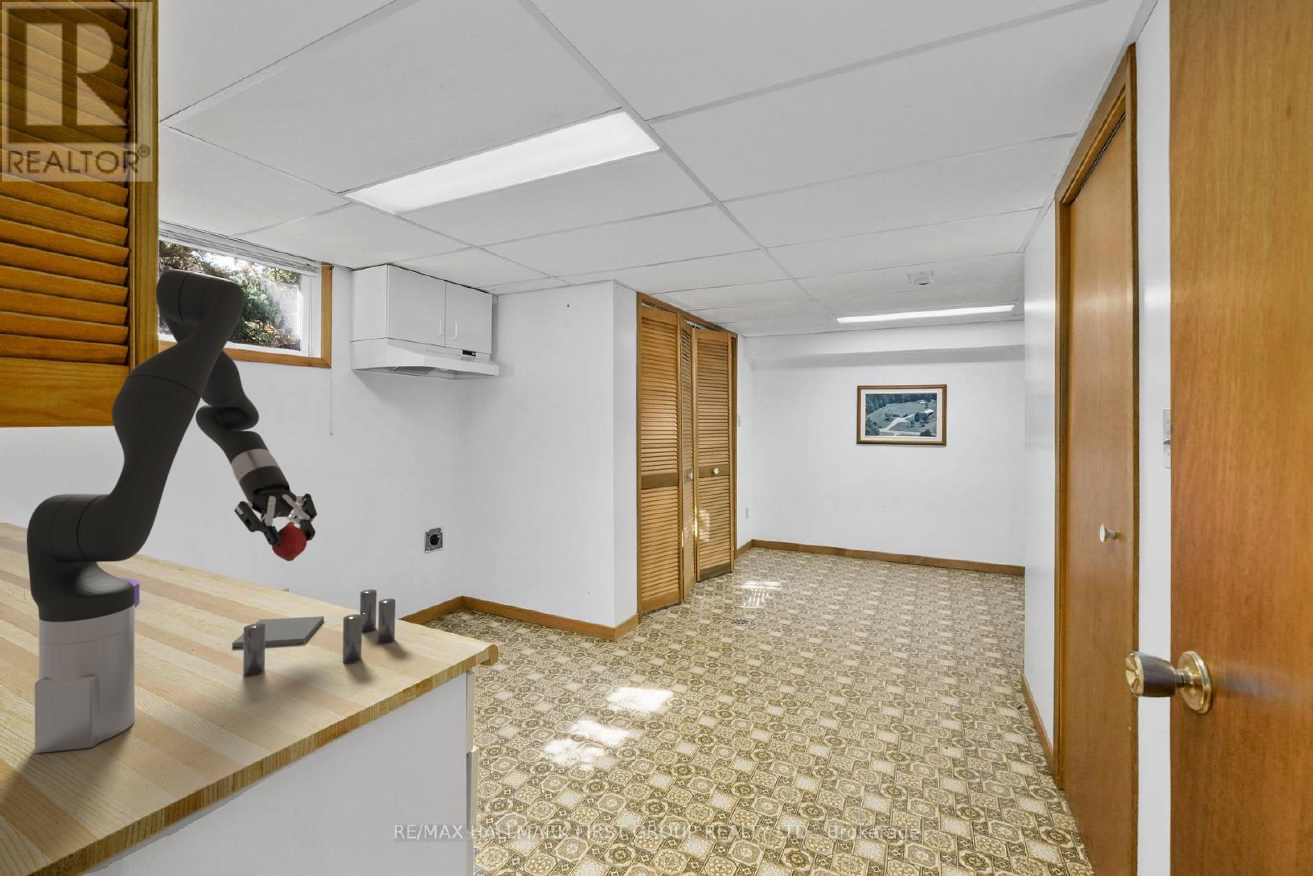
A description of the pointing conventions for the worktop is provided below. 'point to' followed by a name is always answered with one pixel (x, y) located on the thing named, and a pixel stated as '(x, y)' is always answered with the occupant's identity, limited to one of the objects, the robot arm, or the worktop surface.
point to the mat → (286, 630)
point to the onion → (290, 542)
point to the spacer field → (351, 632)
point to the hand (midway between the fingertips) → (295, 541)
